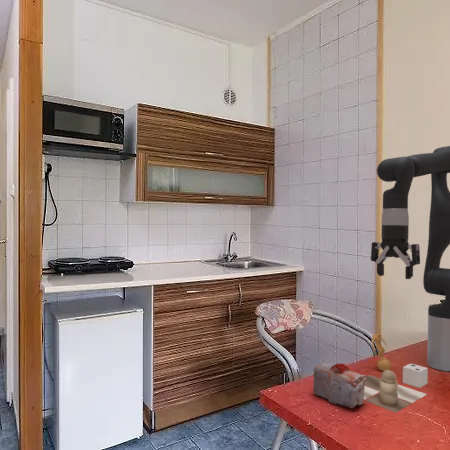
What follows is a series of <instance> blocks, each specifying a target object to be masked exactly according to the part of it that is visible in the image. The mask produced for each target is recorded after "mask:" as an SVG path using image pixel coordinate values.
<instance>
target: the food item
mask: <svg viewBox="0 0 450 450" xmlns="http://www.w3.org/2000/svg"><path fill="white" fill-rule="evenodd" d="M366 376H367V375H366V374H361V373H359V372H354V371H352V370H350V366H348V365H346V364H345V363H338V362H337V363H335V364H331V363H328V362H322V363H320V364H317V365H315V366H314V368H313V393H312V394H313V395H315V396H318V397H321V398H323V399H326V400H328V402H329V403H330V404H335V405H340V406H344V407H347V408H350V409H353V408H355V407H358V406H362V405H364V403H365V400H364V389H365V388H364V386H365V382H366Z"/></svg>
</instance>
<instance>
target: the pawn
mask: <svg viewBox="0 0 450 450" xmlns="http://www.w3.org/2000/svg"><path fill="white" fill-rule="evenodd" d="M398 385H399V382H398V381H397V375H396V374H395V372H394V371H393V370H391V369H390V370H385V371H382V372H381V378H380V392H379V393H380V402H381V403H383V404H386V405H397V404H398Z"/></svg>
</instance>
